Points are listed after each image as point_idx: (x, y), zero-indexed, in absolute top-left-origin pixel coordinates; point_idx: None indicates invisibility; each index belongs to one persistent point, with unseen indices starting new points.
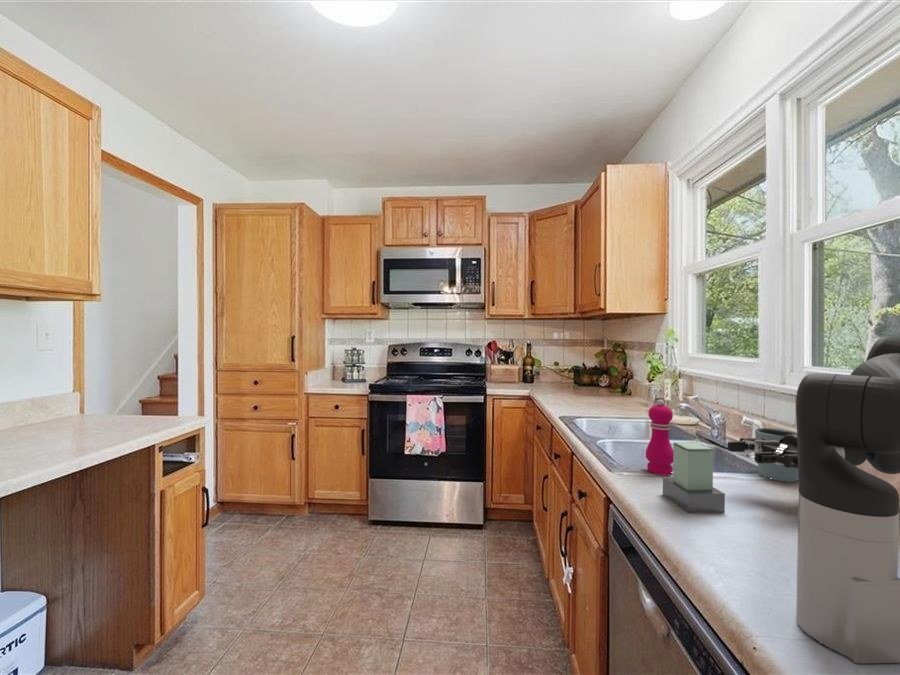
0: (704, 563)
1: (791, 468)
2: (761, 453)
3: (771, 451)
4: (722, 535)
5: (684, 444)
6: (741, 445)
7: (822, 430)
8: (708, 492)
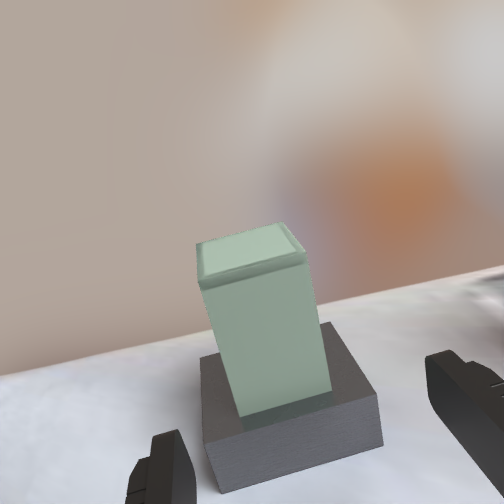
0: (13, 390)
1: None
2: (152, 456)
3: None
4: (85, 442)
5: (257, 235)
6: (491, 441)
7: None
8: (214, 401)
